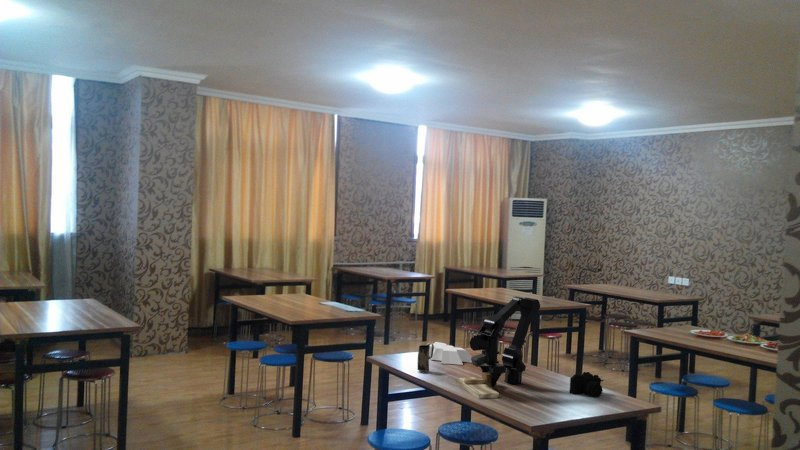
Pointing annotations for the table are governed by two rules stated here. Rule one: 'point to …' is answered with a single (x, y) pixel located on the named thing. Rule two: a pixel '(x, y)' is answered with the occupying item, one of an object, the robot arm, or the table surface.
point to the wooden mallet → (482, 380)
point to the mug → (424, 357)
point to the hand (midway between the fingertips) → (489, 384)
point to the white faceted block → (449, 354)
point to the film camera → (586, 384)
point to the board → (477, 388)
